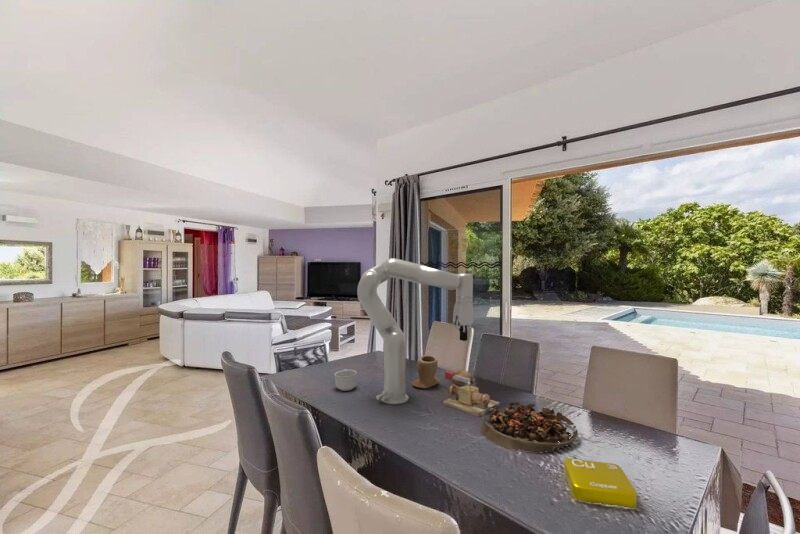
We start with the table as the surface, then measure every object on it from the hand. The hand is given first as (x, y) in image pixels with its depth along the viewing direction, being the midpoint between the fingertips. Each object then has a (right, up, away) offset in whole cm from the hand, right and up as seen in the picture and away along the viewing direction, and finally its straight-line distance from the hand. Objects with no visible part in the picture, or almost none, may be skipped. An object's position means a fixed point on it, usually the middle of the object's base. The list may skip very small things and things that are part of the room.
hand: (463, 340), depth 170 cm
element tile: (+25, -27, -69) cm, 78 cm away
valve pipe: (0, -25, -11) cm, 27 cm away
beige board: (+2, -26, -10) cm, 28 cm away
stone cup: (-15, -26, +16) cm, 34 cm away
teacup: (-56, -26, +12) cm, 63 cm away
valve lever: (-4, -17, -7) cm, 19 cm away
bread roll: (+3, -26, +21) cm, 34 cm away
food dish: (+17, -27, -34) cm, 47 cm away
